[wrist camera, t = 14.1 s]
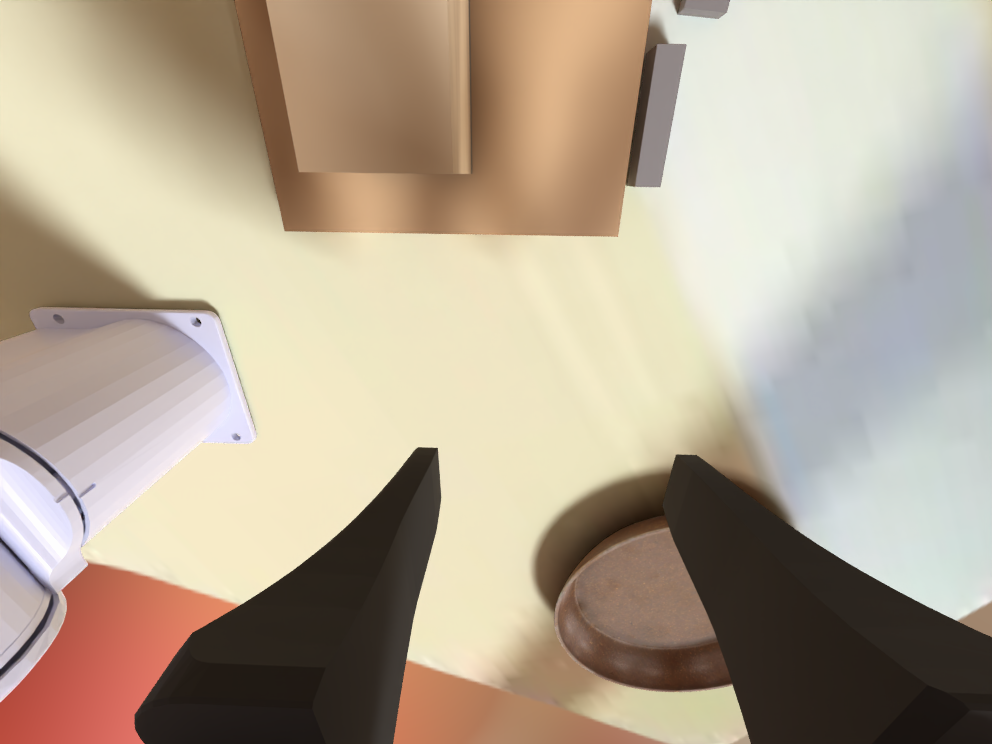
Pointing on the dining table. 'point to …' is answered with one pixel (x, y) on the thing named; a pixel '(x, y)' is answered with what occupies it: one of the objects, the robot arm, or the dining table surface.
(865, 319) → the dining table surface
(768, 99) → the dining table surface
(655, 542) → the plant saucer
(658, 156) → the small gray block
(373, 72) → the block
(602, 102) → the oak board
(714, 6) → the grey rectangular block
